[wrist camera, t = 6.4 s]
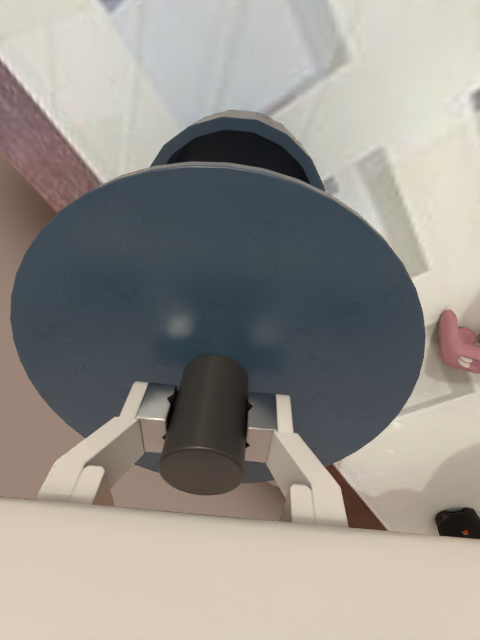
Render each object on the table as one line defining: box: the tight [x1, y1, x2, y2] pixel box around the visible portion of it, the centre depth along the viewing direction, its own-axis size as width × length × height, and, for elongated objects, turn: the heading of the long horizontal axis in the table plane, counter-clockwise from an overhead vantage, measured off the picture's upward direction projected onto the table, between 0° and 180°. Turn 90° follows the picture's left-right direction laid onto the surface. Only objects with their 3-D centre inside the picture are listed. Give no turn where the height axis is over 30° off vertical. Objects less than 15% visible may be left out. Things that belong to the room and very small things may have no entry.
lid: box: [10, 162, 425, 495], centre depth 12 cm, size 16×16×5 cm
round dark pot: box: [150, 110, 325, 192], centre depth 30 cm, size 15×15×8 cm
